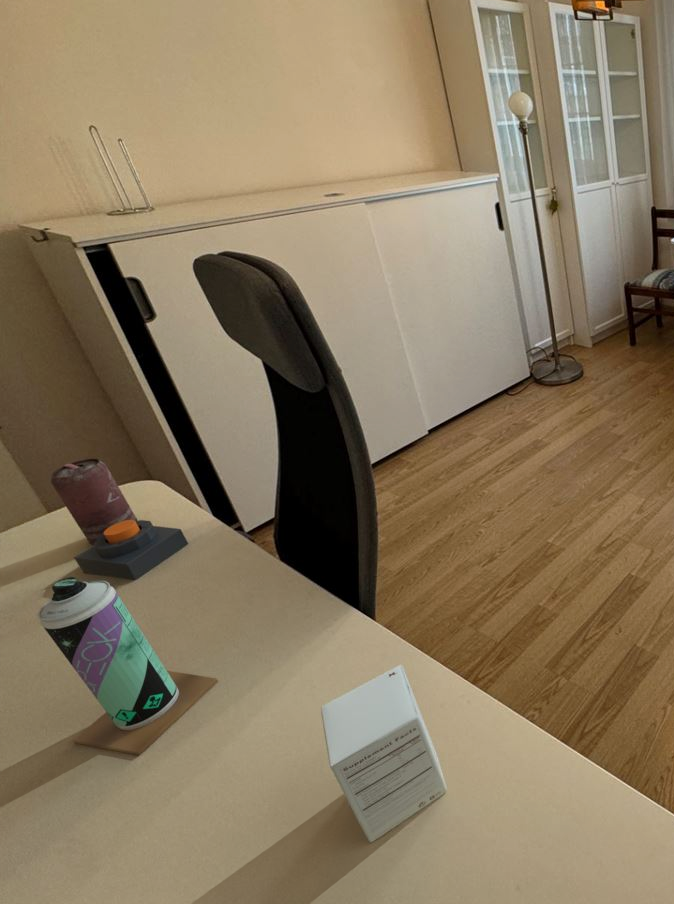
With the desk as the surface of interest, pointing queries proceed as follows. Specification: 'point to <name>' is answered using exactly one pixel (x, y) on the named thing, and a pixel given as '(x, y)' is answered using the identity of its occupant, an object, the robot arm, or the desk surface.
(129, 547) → the button housing
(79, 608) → the spray can
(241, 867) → the desk surface
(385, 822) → the white packaging box
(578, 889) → the desk surface
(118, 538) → the orange button cap
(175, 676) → the wooden board
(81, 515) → the can
